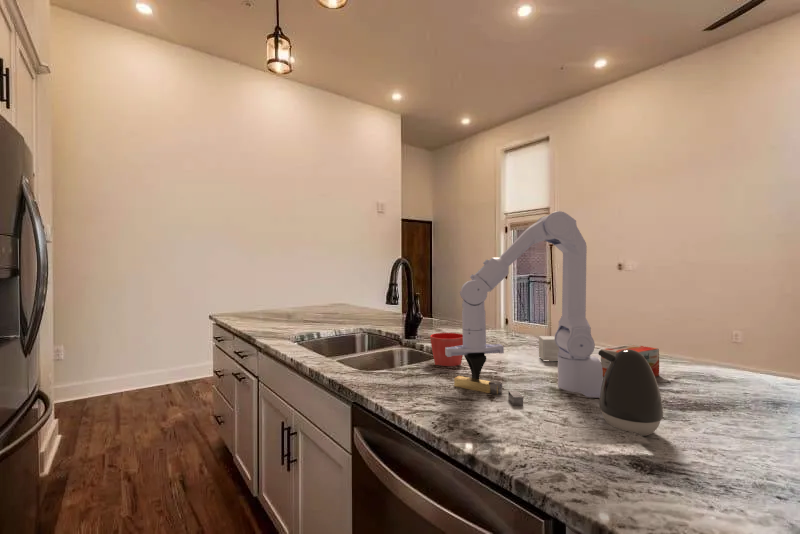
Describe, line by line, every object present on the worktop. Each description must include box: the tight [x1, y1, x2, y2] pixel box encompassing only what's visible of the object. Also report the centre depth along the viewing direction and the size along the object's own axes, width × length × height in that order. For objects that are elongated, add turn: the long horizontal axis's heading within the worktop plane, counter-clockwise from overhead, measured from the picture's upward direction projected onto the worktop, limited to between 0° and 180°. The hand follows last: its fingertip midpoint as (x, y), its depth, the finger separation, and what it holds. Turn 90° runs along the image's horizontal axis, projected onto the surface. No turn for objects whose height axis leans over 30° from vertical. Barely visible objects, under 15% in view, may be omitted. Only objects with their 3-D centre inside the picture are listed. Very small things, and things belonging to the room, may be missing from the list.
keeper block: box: [507, 390, 524, 407], centre depth 81 cm, size 2×4×2 cm, turn 179°
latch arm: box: [453, 375, 503, 396], centre depth 90 cm, size 12×3×2 cm, turn 56°
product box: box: [538, 335, 559, 361], centre depth 125 cm, size 6×6×7 cm
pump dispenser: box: [598, 349, 664, 437], centre depth 71 cm, size 10×10×15 cm
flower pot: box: [429, 332, 464, 367], centre depth 116 cm, size 11×11×10 cm
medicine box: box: [600, 343, 660, 378], centre depth 106 cm, size 15×8×8 cm, turn 119°
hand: (475, 383), depth 93 cm, fingers closed, pressing on latch arm
